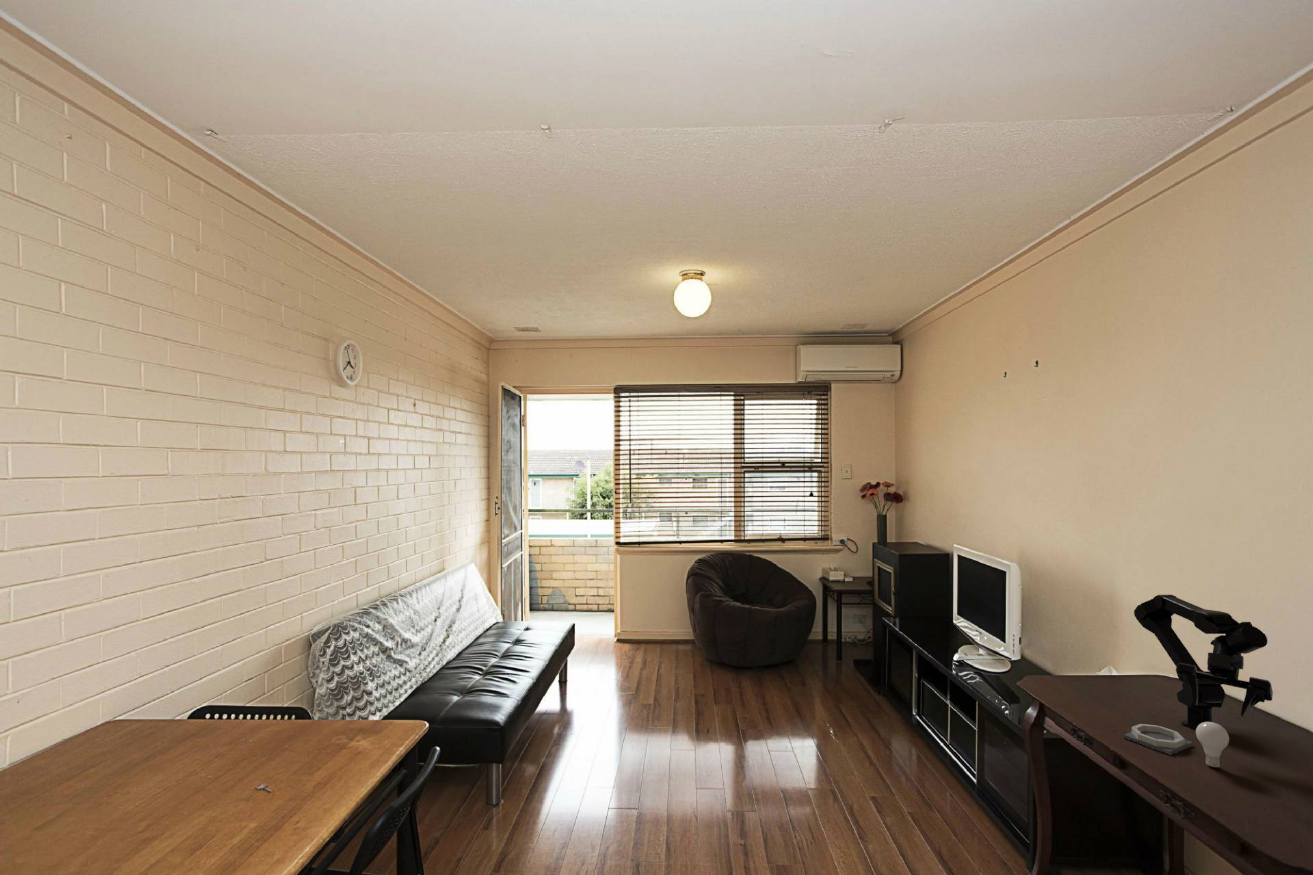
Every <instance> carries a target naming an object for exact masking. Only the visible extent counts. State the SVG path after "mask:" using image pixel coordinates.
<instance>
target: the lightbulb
mask: <svg viewBox="0 0 1313 875" xmlns="http://www.w3.org/2000/svg"><path fill="white" fill-rule="evenodd" d="M1228 733H1229V732H1228V731H1227V730H1226V728H1224V727H1223V726H1222V725H1220V724H1219V723H1216V722H1214V721H1213V722H1203V723H1201V724H1199V725H1198V726H1197V728H1196V729H1195V735H1196V738H1197V740H1198V742H1199V744H1200V745H1201V746H1202V748H1203V751H1204V753H1205V764H1206V765H1207V766H1208V767H1211V768H1220V758H1221V756H1222V752H1223V750H1224V749H1226V748H1227V747H1228V745H1229V744H1230V743H1229V742H1230V736H1229V734H1228Z"/></svg>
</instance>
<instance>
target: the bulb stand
mask: <svg viewBox="0 0 1313 875" xmlns="http://www.w3.org/2000/svg"><path fill="white" fill-rule="evenodd" d="M1124 738H1126V739H1125V740H1127V739H1128V740H1127V741H1130V740H1132V741H1134V742H1133V743H1135V742H1137V743H1136V744H1138V743H1139V744H1138V745H1140V744H1142V745H1141V746H1143V745H1145V746H1144V747H1146V746H1147V747H1146V748H1149V747H1150V748H1149V749H1152V750H1154V749H1156V750H1155V751H1157V750H1158V751H1157V752H1159V751H1161V752H1160V753H1162V752H1164V753H1163V754H1165V753H1167V754H1169V755H1168V756H1172V754H1173V753H1175V754H1178V753H1179V751H1180V752H1181V751H1184V750H1186V749H1188V748H1191V747H1193V742H1192V741H1190V740H1188V739H1186V738H1184V737H1183V736H1182V735H1181V734H1180V733H1179V732H1178V731H1176V730H1173V729H1170V728H1167V727H1163V726H1160V725H1158V724H1157V725H1155V724H1154V725H1153V724H1146V723H1138V724H1135V725H1134V726H1131V731H1130V732H1127V733H1125V734H1123V739H1124ZM1132 741H1131V742H1132ZM1167 754H1166V755H1167ZM1173 755H1174V754H1173Z"/></svg>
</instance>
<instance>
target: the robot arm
mask: <svg viewBox="0 0 1313 875" xmlns="http://www.w3.org/2000/svg"><path fill="white" fill-rule="evenodd" d="M1133 615H1134V617H1135V618H1136V620H1137V622H1138V623H1139V624H1140V625H1141V626H1142V627H1143V628H1144V629H1146V630H1147V631H1148V632H1151V633H1152V634H1153V635H1154V636H1155V637H1156V639H1157V641H1158V642H1159V643H1160V645H1161V647H1162V648H1163V649H1164V651H1165V652H1166V653H1167V655H1168V657H1169V658H1170V660H1171V661H1172V663H1173V664H1174V665H1175V673H1176V675H1177V680H1178V681H1180V682H1181V686H1182V689H1180V690H1179V691H1178V692H1176V697H1177V700H1178V702H1180V703H1181V704H1183V705H1184V706H1186V719H1185V720H1183V721H1181V722H1180V724H1181V725H1183V726H1185V727H1190V728H1192V729H1195V730H1196V728H1197V726H1198V725H1199V724H1201V723H1203V722H1214V720H1213V719H1214V716H1213V714H1214V712H1213V709H1214V708H1218V709H1219V708H1222V706H1223V703H1224V700H1225V697H1226V692H1225V689H1224V688H1223V686H1222V685H1225V686H1230V687H1235V688H1239V689H1244V690H1246V692H1245V695H1244V699H1243V703H1242V706H1241V710H1240V711H1241V713H1240V715H1241V717H1243V718H1244V717H1245V716H1246V715H1247V713H1249V712H1250V710H1251V709H1252V708H1253V707H1255V706H1256V705H1258V703H1265V702H1267V701H1268V702H1270V701H1273V695H1274V694H1273V687H1272V683H1271V682H1270V681H1269V680H1268V679H1263V678H1259V677H1254V676H1249V679H1248V681H1247V680H1242V679H1239V675H1240V670H1244V666H1245V665H1244V664H1245V663H1244V661H1245V660H1244V656H1243V655H1247V654H1250V653H1252V652H1254V651H1257V650H1259V649H1262V648H1265V647H1266V646H1267V644H1268V642H1269V641H1268V637H1267V635H1266V634H1265V633H1264V632H1263V631H1262V630H1261V629H1260V628H1259V627H1256V626H1254V625H1253V624H1252V622H1251V621H1241V622H1238V621H1237V620H1235V619H1234V618H1233V616H1232V615H1231V614H1230V613H1228V612H1225V611H1221V610H1213V609H1207V608H1203V607H1201V606H1197V605H1195V604H1193V603H1190V602H1189V601H1185V600H1184V599H1181V598H1179V597H1177V595H1173V594H1157V595H1155V596H1154V597H1153V598H1151V599H1149V600H1146V601H1144V602H1141V603H1140V604H1139V605H1137V606H1136V607H1135V609H1134V610H1133ZM1174 615H1177V616H1179V617H1181V618H1183V619H1185V620H1187V621H1190V622H1192V623H1193V626H1194V627H1195V628H1196V629H1198V630H1199V631H1201V632H1202V633H1204V634H1206V635H1218V636H1215V637H1214V639H1212V640H1211V642H1210V645H1211V646H1213V648H1212V652H1207V660H1206V661H1207V662H1206V665H1207V667H1206V668H1207V671H1206V670H1205V671H1204V670H1203V669H1201V667H1200V666H1199V665H1198V663H1197V661H1196V660H1195V659H1194V658H1193V656H1192V654H1191V652H1189V650H1188V649H1187V647H1186V646H1185V645H1184V643H1183V642H1182V640H1181V639H1180V638H1179V636H1178V635H1177V632H1175V630H1174V629H1173V627H1172V626H1173V618H1172V617H1173V616H1174ZM1242 654H1243V655H1242Z"/></svg>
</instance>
